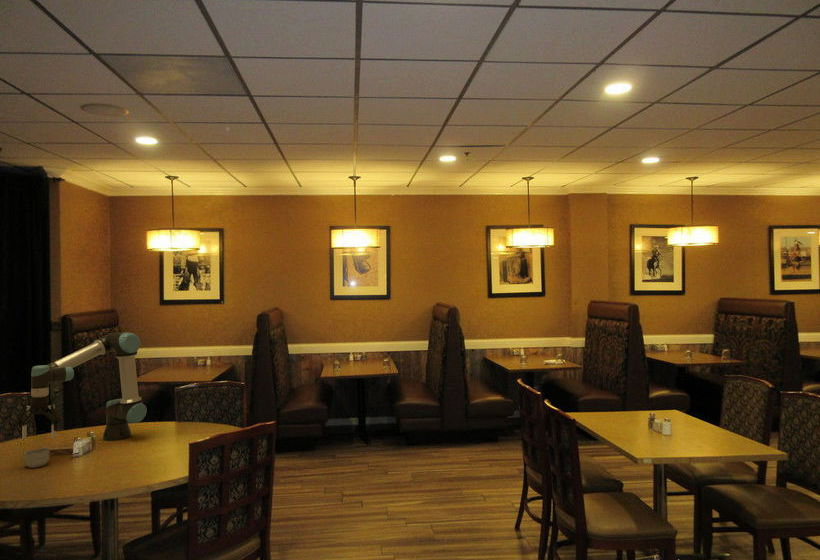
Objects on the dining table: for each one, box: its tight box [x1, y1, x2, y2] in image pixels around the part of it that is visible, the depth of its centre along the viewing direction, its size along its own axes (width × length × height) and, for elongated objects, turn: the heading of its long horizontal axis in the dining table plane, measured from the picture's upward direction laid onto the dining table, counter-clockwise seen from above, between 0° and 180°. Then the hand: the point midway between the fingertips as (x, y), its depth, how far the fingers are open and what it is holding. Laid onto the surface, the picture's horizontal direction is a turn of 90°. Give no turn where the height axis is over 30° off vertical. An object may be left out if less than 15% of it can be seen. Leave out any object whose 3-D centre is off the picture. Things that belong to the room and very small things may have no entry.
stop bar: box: [49, 446, 74, 457], centre depth 293 cm, size 22×3×3 cm, turn 99°
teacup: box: [23, 446, 50, 468], centre depth 275 cm, size 14×11×8 cm
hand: (39, 437), depth 275 cm, fingers open, 13 cm apart
